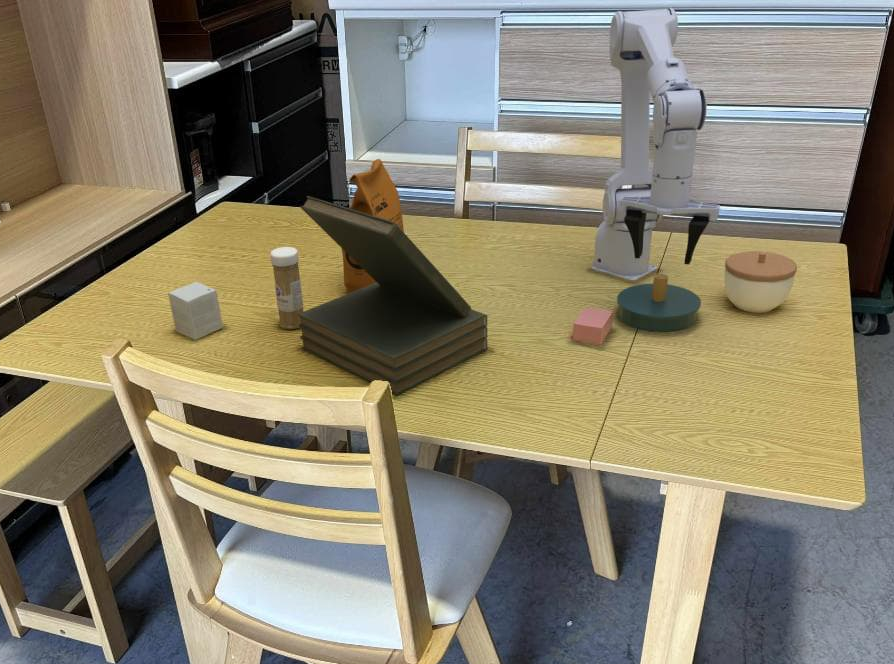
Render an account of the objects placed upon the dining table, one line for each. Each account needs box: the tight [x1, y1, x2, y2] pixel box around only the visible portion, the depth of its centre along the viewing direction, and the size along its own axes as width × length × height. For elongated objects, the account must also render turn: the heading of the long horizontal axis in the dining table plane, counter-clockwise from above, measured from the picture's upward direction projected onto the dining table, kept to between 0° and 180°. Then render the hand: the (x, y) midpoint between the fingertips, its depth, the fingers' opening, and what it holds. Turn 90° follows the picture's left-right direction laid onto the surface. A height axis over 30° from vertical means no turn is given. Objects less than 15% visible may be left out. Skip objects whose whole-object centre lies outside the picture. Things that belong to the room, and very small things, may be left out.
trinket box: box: [723, 250, 798, 314], centre depth 142 cm, size 11×11×9 cm
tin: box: [617, 305, 698, 333], centre depth 142 cm, size 12×12×3 cm
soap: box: [572, 307, 614, 345], centre depth 138 cm, size 4×6×3 cm
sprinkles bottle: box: [270, 246, 304, 330], centre depth 146 cm, size 5×5×13 cm
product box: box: [167, 281, 224, 341], centre depth 148 cm, size 6×6×7 cm
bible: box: [298, 195, 488, 397], centre depth 133 cm, size 23×20×25 cm
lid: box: [616, 273, 702, 319], centre depth 140 cm, size 13×13×5 cm
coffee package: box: [341, 158, 405, 293], centre depth 157 cm, size 10×12×22 cm
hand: (662, 259), depth 137 cm, fingers open, 7 cm apart
